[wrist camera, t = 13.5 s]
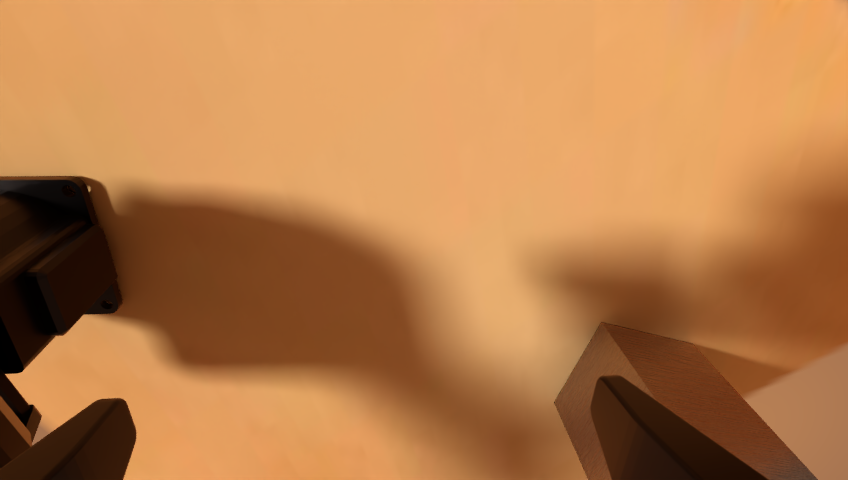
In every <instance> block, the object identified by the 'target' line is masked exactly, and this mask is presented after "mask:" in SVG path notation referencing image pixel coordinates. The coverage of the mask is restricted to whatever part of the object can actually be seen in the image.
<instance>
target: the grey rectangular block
mask: <svg viewBox="0 0 848 480" xmlns="http://www.w3.org/2000/svg"><path fill="white" fill-rule="evenodd" d="M602 375H620V376H622V377H624V378H625V379H627V380H628V381H630V382H631V383H632V384H634V385H635V386H637V387H638V388H639V389H641V390H642V391H644V392H645V393H647V394H648V395H649V396H651V397H652V398H654V399H655V400H657V401H658V402H659V403H661V404H662V405H664V406H665V407H667V408H668V409H669V410H671V411H672V412H674V413H675V414H676V415H678V416H679V417H681V418H682V419H684V420H685V421H686V422H688V423H689V424H691V425H692V426H694V427H695V428H696V429H698V430H699V431H701V432H702V433H703V434H705V435H706V436H708V437H709V438H711V439H712V440H713V441H715V442H716V443H718V444H719V445H721V446H722V447H723V448H725V449H726V450H728V451H729V452H731V453H732V454H733V455H735V456H736V457H738V458H739V459H740V460H742V461H743V462H745V463H746V464H748V465H749V466H750V467H752V468H753V469H755V470H756V471H758V472H759V473H760V474H762V475H763V476H765V477H766V478H767V479H769V480H818V479H817V478H816V477H815V476H814V475H813V474H812V473H811V472H810V471H809V470H808V468H807V467H806V466H805V465H804V464H803V463H802V462H801V461H800V460H799V459H798V458H797V456H796V455H795V454H794V453H793V452H792V451H791V450H790V449H789V448H788V447H787V446H786V445H785V444H784V442H783V441H782V440H781V439H780V438H779V437H778V436H777V435H776V434H775V433H774V432H773V431H772V429H771V428H770V427H769V426H768V425H767V424H766V423H765V422H764V421H763V420H762V419H761V417H759V415H758V414H757V413H756V412H755V411H754V410H753V409H752V408H751V407H750V406H749V404H747V402H746V401H745V400H744V399H743V398H742V397H741V396H740V395H739V394H738V393H737V391H736V390H735V389H734V388H733V387H732V386H731V385H730V384H729V383H728V382H727V381H726V380H725V378H724V377H723V376H722V375H721V374H720V373H719V372H718V371H717V370H716V369H715V368H714V367H713V365H712V364H711V363H710V362H709V361H708V360H707V359H706V358H705V357H704V356H703V355H702V354H701V352H700V351H699V350H698V349H697V348H696V347H695V346H694V345H693V344H691V343H686V342H682V341H678V340H674V339H670V338H665V337H661V336H657V335H653V334H648V333H644V332H640V331H636V330H632V329H627V328H623V327H619V326H615V325H610V324H606V323H602V322H601V324H600V326H599V327H598V329H597V331H596V333H595V334H594V336H593V338H592V339H591V341H590V343H589V344H588V346H587V348H586V349H585V351H584V353H583V355H582V356H581V358H580V360H579V361H578V363H577V365H576V366H575V368H574V370H573V371H572V373H571V375H570V377H569V378H568V380H567V382H566V383H565V385H564V387H563V388H562V390H561V392H560V393H559V395H558V397H557V399H556V400H555V402H554V403H555V406H556V408H557V410H558V412H559V415H560V417H561V419H562V421H563V424H564V426H565V428H566V430H567V433H568V435H569V437H570V439H571V442H572V444H573V446H574V448H575V451H576V453H577V455H578V457H579V460H580V462H581V464H582V466H583V469H584V471H585V473H586V475H587V478H588V480H612V479H611V476H610V473H609V470H608V467H607V464H606V461H605V458H604V455H603V451H602V448H601V445H600V442H599V439H598V436H597V433H596V430H595V427H594V424H593V421H592V417H591V411H590V406H591V401H592V397H593V393H594V389H595V385H596V381H597V379H598V378H599V377H600V376H602Z"/></svg>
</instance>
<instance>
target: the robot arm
mask: <svg viewBox="0 0 848 480" xmlns="http://www.w3.org/2000/svg"><path fill="white" fill-rule="evenodd" d="M67 185H68V186H71V187H73V188H74V190H75V191H76V194H75V193H72V192H70V191H69V189H68V186H67ZM116 279H117V273H116V269H115V266H114V263H113V260H112V257H111V253H110V250H109V247H108V244H107V241H106V237H105V234H104V231H103V229H102V228H101V227H100V226H99V224H98V220H97V217H96V214H95V211H94V208H93V205H92V201H91V198H90V195H89V192H88V189H87V186H86V185H85V183H84V182H83V181H82V180H81V179H79V178H77V177H72V176H39V177H0V480H123V478H124V475H125V472H126V469H127V466H128V463H129V460H130V457H131V454H132V451H133V448H134V445H135V441H136V428H135V425H134V422H133V419H132V417H131V414H130V411H129V408H128V405H127V403H126V401H125V400H124V399H121V398H113V399H100V400H97V401H95V402H94V403H92V404H91V405H89V406H88V407H87V408H85V409H84V410H82V411H81V412H79V413H78V414H77V415H75V416H74V417H72V418H71V419H70V420H68V421H67V422H65V423H64V424H63V425H61V426H60V427H58V428H57V429H55V430H54V431H53V432H51V433H50V434H48V435H47V436H46V437H44V438H43V439H41V440H40V441H39V442H37V443H36V444H34V445H33V446H32V442H33V439H34V436H35V434H36V431H37V428H38V425H39V423H40V420H41V417H42V415H41V414H40V413H39V411H38V410H37V409H36V408H35V406H34V405H29V404H28V403H27V402H26V401H25V399H24V398H23V397H22V395H21V394H20V393H19V392H18V390H17V389H16V388H15V387H14V385H13V384H12V383H11V381H10V380H9V379H8V378H7V376H6V375H5V374H12V373H20V372H22V371H23V370H24V369H25V368H26V367H27V366H28V365H29V364H30V363H31V362H32V361H33V360H34V359H35V357H36V356H37V355H38V354H39V353H40V352H41V351H42V350H43V349H44V348H45V347H46V346H47V345H48V344H49V343H50V342H51V341H52V340H53V338H54V337H55V336H63V335H65V334H66V333H67V332H68V331H69V330H70V329H71V327H72V326H73V325H74V324H75V323H76V322H77V321H78V320H79V319H80V318H81V317H82V316H83V314H110V313H114V312H116V311H117V310H118V309H119V308H120V306H121V305H122V303H123V302H122V297H121V294H120V290H119V287H118V284H117V281H116ZM105 300H108V301H110V302H111V303H112V304H109V303H107V302H106V301H105ZM590 411H591V417H592V421H593V424H594V427H595V430H596V433H597V436H598V439H599V442H600V445H601V448H602V451H603V455H604V458H605V461H606V464H607V467H608V470H609V473H610V476H611V479H612V480H769V479H767V478H766V477H765V476H763V475H762V474H760V473H759V472H758V471H756V470H755V469H753V468H752V467H750V466H749V465H748V464H746V463H745V462H743V461H742V460H740V459H739V458H738V457H736V456H735V455H733V454H732V453H731V452H729V451H728V450H726V449H725V448H723V447H722V446H721V445H719V444H718V443H716V442H715V441H713V440H712V439H711V438H709V437H708V436H706V435H705V434H703V433H702V432H701V431H699V430H698V429H696V428H695V427H694V426H692V425H691V424H689V423H688V422H686V421H685V420H684V419H682V418H681V417H679V416H678V415H676V414H675V413H674V412H672V411H671V410H669V409H668V408H667V407H665V406H664V405H662V404H661V403H659V402H658V401H657V400H655V399H654V398H652V397H651V396H649V395H648V394H647V393H645V392H644V391H642V390H641V389H639V388H638V387H637V386H635V385H634V384H632V383H631V382H630V381H628V380H627V379H625V378H624V377H622V376H620V375H602V376H600V377H599V378H598V379H597V381H596V385H595V389H594V393H593V397H592V401H591V406H590Z"/></svg>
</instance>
